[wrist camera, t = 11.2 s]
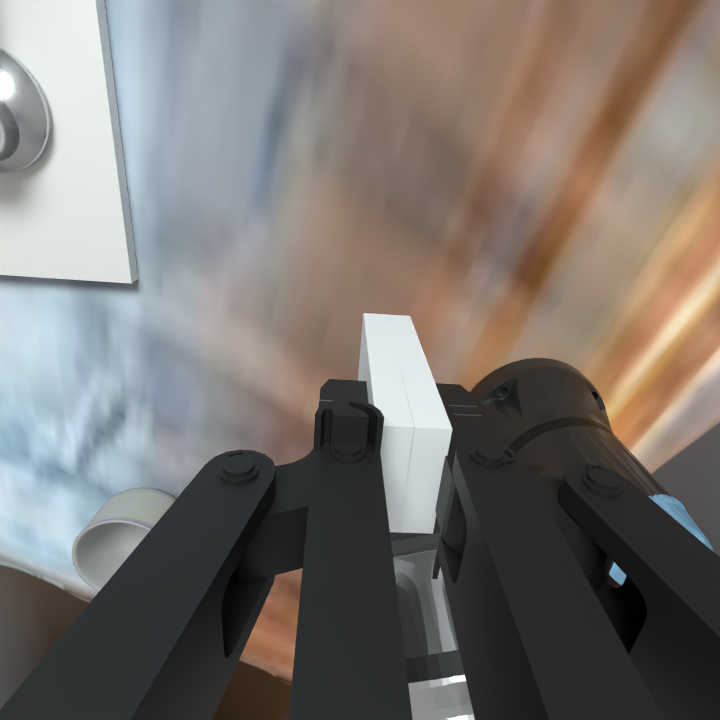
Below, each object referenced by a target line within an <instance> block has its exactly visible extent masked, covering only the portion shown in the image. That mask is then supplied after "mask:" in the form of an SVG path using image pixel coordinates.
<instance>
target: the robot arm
mask: <svg viewBox="0 0 720 720" xmlns="http://www.w3.org/2000/svg"><path fill="white" fill-rule="evenodd" d="M300 568H303V571H302V581H301V592H300V603H299V614H298V625H297V635H296V646H295V657H294V668H293V679H292V689H291V702H290V711H289V720H720V557H719V556H718V555H717V554H715V553H714V552H713V549H712V547H711V545H710V543H709V541H708V540H707V538H706V537H705V536H704V534H703V533H702V532H701V531H700V529H699V528H698V527H697V525H696V524H695V523H694V521H693V520H692V519H691V518H690V516H689V515H688V513H687V512H686V510H685V508H684V506H683V505H682V503H680V502H679V501H678V500H676V499H675V498H673V497H672V496H671V495H670V494H669V493H668V492H667V491H666V490H665V489H664V487H663V486H661V484H660V483H659V482H658V481H657V480H656V479H655V478H654V477H653V476H652V475H651V474H650V473H649V471H648V470H647V469H646V468H645V467H644V466H643V465H642V464H641V463H640V462H639V461H638V460H637V459H636V458H635V456H634V455H633V454H632V453H631V452H630V451H629V450H628V449H627V448H626V447H625V446H624V445H623V444H622V443H621V441H620V440H619V439H618V438H617V437H616V436H615V435H614V434H613V433H612V429H611V426H610V423H609V419H608V416H607V413H606V410H605V406H604V403H603V400H602V398H601V396H600V394H599V392H598V391H597V389H596V388H595V387H594V386H593V384H592V383H591V382H590V381H589V380H588V379H587V378H586V377H585V376H584V375H583V374H582V373H580V372H579V371H578V370H577V369H575V368H574V367H572V366H570V365H568V364H566V363H563V362H560V361H557V360H552V359H544V358H533V359H525V360H520V361H516V362H513V363H510V364H507V365H505V366H503V367H500V368H499V369H497V370H495V371H493V372H492V373H490V374H489V375H487V376H486V377H485V378H484V379H482V380H481V381H480V382H479V383H478V384H477V385H476V386H475V387H474V388H473V390H472V391H471V392H470V393H469V392H468V391H467V390H466V389H464V388H463V387H462V386H461V385H456V384H437V383H435V381H434V379H433V376H432V374H431V371H430V368H429V366H428V363H427V360H426V358H425V355H424V352H423V350H422V347H421V344H420V342H419V339H418V336H417V334H416V331H415V328H414V326H413V323H412V320H411V318H410V316H401V315H385V314H369V313H363V325H362V337H361V349H360V361H359V373H358V381H355V380H336V379H329V380H328V381H327V382H326V383H325V384H324V385H323V386H322V387H321V390H320V401H319V408H318V410H317V412H316V414H315V430H314V448H313V450H312V451H311V452H310V454H308V455H307V456H306V457H304V458H303V459H300V460H298V461H296V462H293V463H289V464H285V465H279V466H275V465H274V463H273V461H272V460H271V459H270V458H269V457H267V456H266V455H265V454H262V453H259V452H256V451H252V450H236V451H229V452H225V453H223V454H221V455H218V456H216V457H214V458H213V459H211V460H210V461H209V462H208V463H207V464H205V466H204V467H203V468H202V469H201V470H200V472H199V473H198V474H197V475H196V476H195V478H194V479H193V480H192V481H191V482H190V484H189V485H188V486H187V487H186V488H185V489H184V491H183V492H182V493H181V494H180V495H179V497H178V498H177V499H176V500H175V501H174V503H173V504H172V505H171V506H170V507H169V509H168V510H167V511H166V512H165V513H164V515H163V516H162V517H161V518H160V519H159V521H158V522H157V523H156V524H155V525H154V527H153V528H152V529H151V530H150V531H149V533H148V534H147V535H146V536H145V537H144V539H143V540H142V541H141V542H140V543H139V545H138V546H137V547H136V548H135V549H134V550H133V552H132V553H131V554H130V555H129V556H128V558H127V559H126V560H125V561H124V562H123V564H122V565H121V566H120V567H119V568H118V570H117V571H116V572H115V573H114V574H113V576H112V577H111V578H110V579H109V580H108V582H107V583H106V584H105V585H104V586H103V588H102V589H101V590H100V591H99V592H98V594H97V595H96V596H95V597H94V598H93V600H92V601H91V602H90V603H89V604H88V606H87V607H86V608H85V609H84V610H83V612H82V613H81V614H80V615H79V616H78V617H77V619H76V620H75V621H74V622H73V623H72V625H71V626H70V627H69V628H68V629H67V631H66V632H65V633H64V634H63V635H62V637H61V638H60V639H59V640H58V641H57V643H56V644H55V645H54V646H53V647H52V649H51V650H50V651H49V652H48V653H47V655H46V656H45V657H44V658H43V659H42V661H41V662H40V663H39V664H38V665H37V667H36V668H35V669H34V670H33V671H32V673H31V674H30V675H29V676H28V677H27V679H26V680H25V681H24V683H22V685H21V686H20V687H19V688H18V689H17V690H16V692H15V693H14V694H13V695H12V696H11V698H10V699H9V700H8V701H7V702H6V704H5V705H4V706H3V707H2V708H1V710H0V720H212V718H213V716H214V714H215V712H216V709H217V707H218V705H219V703H220V701H221V698H222V696H223V694H224V692H225V689H226V687H227V685H228V683H229V680H230V678H231V676H232V674H233V671H234V669H235V667H236V665H237V663H238V661H239V658H240V656H241V654H242V652H243V649H244V647H245V645H246V643H247V641H248V638H249V636H250V634H251V632H252V629H253V627H254V625H255V623H256V620H257V618H258V616H259V614H260V612H261V609H262V607H263V605H264V603H265V600H266V598H267V596H268V594H269V592H270V589H271V587H272V585H273V583H274V578H275V575H277V574H281V573H285V572H289V571H293V570H297V569H300Z"/></svg>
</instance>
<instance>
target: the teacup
mask: <svg viewBox="0 0 720 720" xmlns="http://www.w3.org/2000/svg"><path fill="white" fill-rule="evenodd" d="M175 500H176V499H175V498H173V497H172V496H170V495H169V494H167V493H164V492H162V491H159V490H156V489H151V488H134V489H129V490H126V491H123V492H121V493H119V494H117V495H115V496H114V497H112V498H111V499H110V500H109V501H107V502H106V503H105V504H104V505H103V507H102V508H101V509H100V510H99V511H98V512H97V514H96V515H95V516H94V517H93V519H92V520H91V521H90V523H89V524H88V525H87V527H86V528H85V529H84V530H83V531H82V532H81V533H80V534H79V535H78V536H77V538H76V539H75V542H74V544H73V548H72V559H73V565H74V567H75V569H76V571H77V572H78V574H79V576H80V577H81V578H82V579H83V580H84V581H85V582H86V583H87V584H88V585H89V586H91V587H92V588H93V589H95V590H96V591H98V592H99V591H100V590H101V589H102V588H103V586H104V585H105V584H106V583H107V582H108V580H109V579H110V578H111V577H112V576H113V574H114V573H115V572H116V571H117V570H118V568H119V567H120V566H121V565H122V564H123V562H124V561H125V560H126V559H127V558H128V556H129V555H130V554H131V553H132V552H133V550H134V549H135V548H136V547H137V546H138V545H139V543H140V542H141V541H142V540H143V539H144V537H145V536H146V535H147V534H148V533H149V531H150V530H151V529H152V528H153V527H154V525H155V524H156V523H157V522H158V521H159V519H160V518H161V517H162V516H163V515H164V513H165V512H166V511H167V510H168V509H169V507H170V506H171V505H172V504H173V503H174V501H175Z"/></svg>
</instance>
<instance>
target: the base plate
mask: <svg viewBox="0 0 720 720" xmlns="http://www.w3.org/2000/svg"><path fill="white" fill-rule="evenodd" d="M0 47H1V48H3V49H4V50H6V51H7V52H9V53H10V54H12V55H13V56H15V57H16V58H17V59H18V60H19V61H20V62H21V63H22V64H23V65H24V66H25V67H26V68H27V69H28V70H29V71H30V72H31V74H32V75H33V76H34V78H35V79H36V81H37V82H38V84H39V85H40V87H41V89H42V91H43V93H44V95H45V98H46V101H47V103H48V107H49V111H50V116H51V136H50V140H49V144H48V146H47V149H46V151H45V152H44V154H43V156H42V157H41V158H40V159H39V160H38V161H37V162H36V163H35V164H33V165H32V166H30V167H28V168H26V169H23V170H20V171H15V172H7V173H0V275H11V276H26V277H41V278H56V279H71V280H86V281H101V282H116V283H131V284H132V283H133V282H135V281H136V280H138V273H137V265H136V257H135V248H134V240H133V232H132V224H131V215H130V207H129V199H128V191H127V182H126V174H125V166H124V158H123V149H122V141H121V133H120V125H119V116H118V108H117V100H116V92H115V83H114V75H113V67H112V59H111V50H110V42H109V34H108V26H107V17H106V9H105V1H104V0H0Z"/></svg>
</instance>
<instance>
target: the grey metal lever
mask: <svg viewBox="0 0 720 720" xmlns="http://www.w3.org/2000/svg"><path fill="white" fill-rule="evenodd" d="M50 136H51V116H50V111H49V107H48V103H47V101H46V98H45V95H44V93H43V91H42V89H41V87H40V85H39V84H38V82H37V81H36V79H35V78H34V76H33V75H32V74H31V72H30V71H29V70H28V69H27V68H26V67H25V66H24V65H23V64H22V63H21V62H20V61H19V60H18V59H17V58H16V57H15V56H13V55H12V54H10V53H9V52H7V51H6V50H4V49H3V48H1V47H0V173H7V172H15V171H20V170H23V169H26V168H28V167H30V166H32V165H33V164H35V163H36V162H37V161H38V160H39V159H40V158H41V157H42V156H43V154H44V152H45V151H46V149H47V146H48V144H49V140H50Z"/></svg>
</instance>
